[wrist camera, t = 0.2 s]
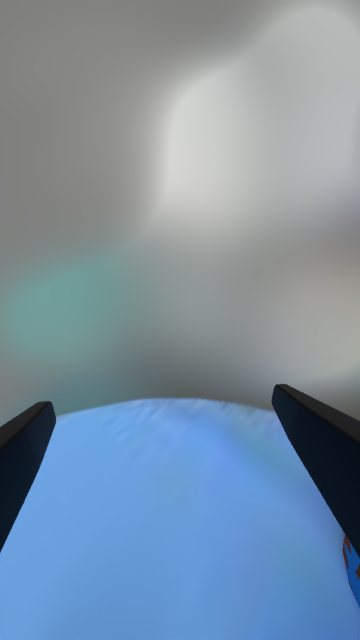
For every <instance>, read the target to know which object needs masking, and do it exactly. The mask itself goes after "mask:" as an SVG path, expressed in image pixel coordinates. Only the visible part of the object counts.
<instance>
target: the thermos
mask: <svg viewBox="0 0 360 640" xmlns="http://www.w3.org/2000/svg"><path fill="white" fill-rule="evenodd" d="M343 554H344V559H345V564H346V569H347V574H348V579H349V584H350V586H351V589H352V591H353V593H354V595H355V598H356V600H357V602H358V605H359V607H360V558H359V557H358V555H357V553H356V552H355V550H354V548H353V547H352V545H351V543H350V542H349V540H348V538H347V537H346V535H345V538H344V544H343Z"/></svg>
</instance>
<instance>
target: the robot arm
mask: <svg viewBox="0 0 360 640" xmlns="http://www.w3.org/2000/svg"><path fill="white" fill-rule="evenodd" d="M272 405H273V407H274V410H275V412H276V414H277V416H278V418H279V420H280V422H281V424H282V426H283V428H284V431H285V433H286V435H287V437H288V439H289V441H290V442H291V444H292V446H293V448H294V449H295V451H296V453H297V454H298V456H299V458H300V459H301V461H302V463H303V464H304V466H305V468H306V469H307V471H308V473H309V474H310V476H311V478H312V480H313V481H314V483H315V485H316V486H317V488H318V490H319V491H320V493H321V495H322V496H323V498H324V500H325V501H326V503H327V505H328V506H329V508H330V510H331V511H332V513H333V515H334V516H335V518H336V520H337V521H338V523H339V525H340V526H341V528H342V530H343V532H344V533H345V535H346V537H347V538H348V540H349V542H350V543H351V545H352V547H353V548H354V550H355V552H356V553H357V555H358V557H359V558H360V421H359V420H356V419H354V418H352V417H350V416H348V415H346V414H344V413H342V412H340V411H338V410H336V409H334V408H332V407H330V406H328V405H326V404H324V403H322V402H320V401H318V400H316V399H314V398H312V397H310V396H308V395H306V394H304V393H302V392H300V391H298V390H296V389H294V388H292V387H290V386H288V385H286V384H277V385H275V387H274V390H273V395H272ZM55 424H56V416H55V412H54V408H53V404H52V402H50V401H43V402H38V403H36V404H34V405H33V406H31V407H30V408H28V409H27V410H25V411H24V412H22V413H21V414H19V415H18V416H16V417H15V418H13V419H12V420H10V421H9V422H7V423H6V424H4V425H2V426H1V427H0V552H1V550H2V548H3V546H4V544H5V541H6V539H7V537H8V535H9V533H10V531H11V529H12V526H13V524H14V522H15V520H16V518H17V516H18V514H19V511H20V509H21V507H22V505H23V503H24V501H25V499H26V496H27V494H28V492H29V490H30V488H31V486H32V484H33V481H34V479H35V477H36V475H37V473H38V470H39V468H40V465H41V463H42V460H43V457H44V455H45V452H46V449H47V446H48V444H49V441H50V438H51V435H52V432H53V430H54V427H55Z"/></svg>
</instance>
